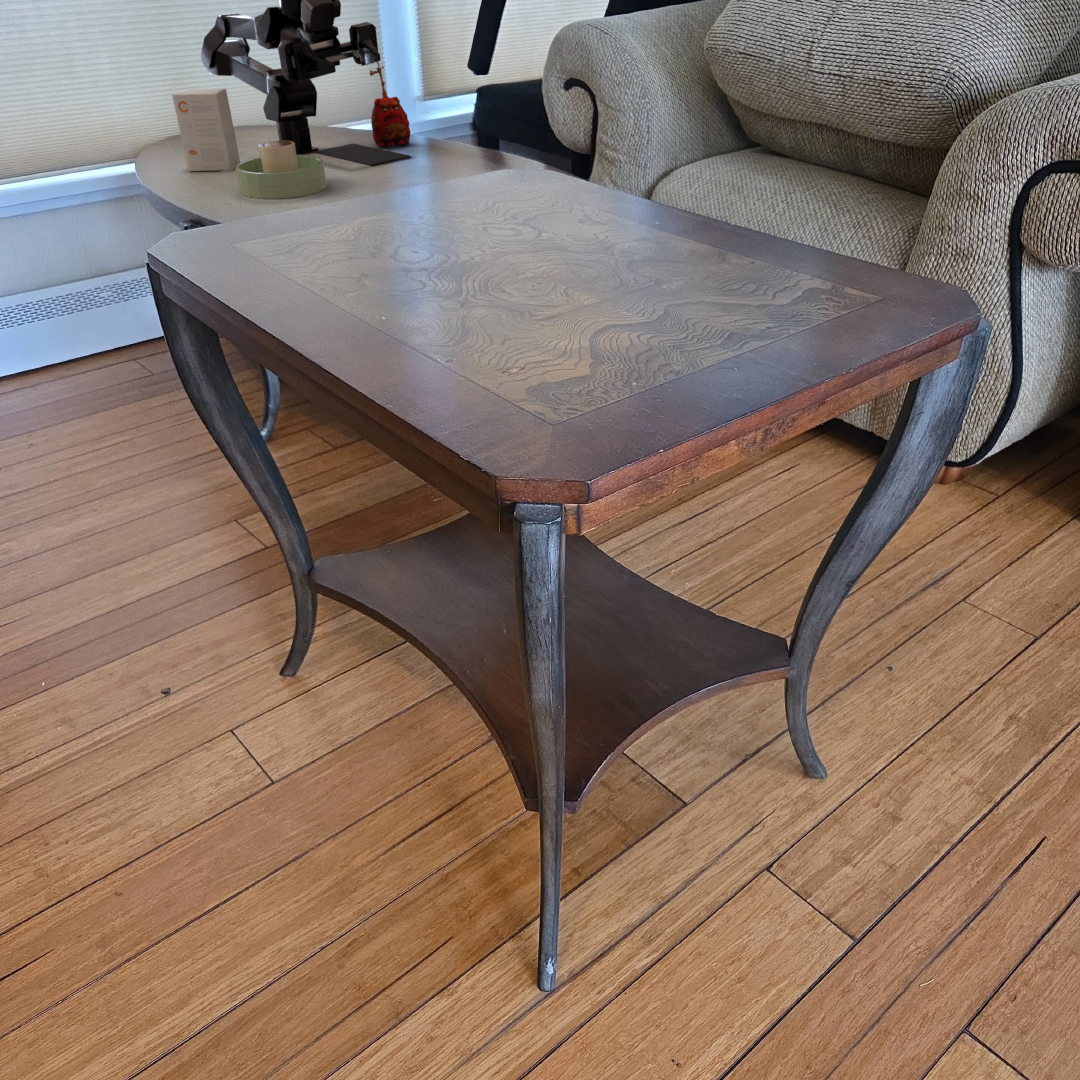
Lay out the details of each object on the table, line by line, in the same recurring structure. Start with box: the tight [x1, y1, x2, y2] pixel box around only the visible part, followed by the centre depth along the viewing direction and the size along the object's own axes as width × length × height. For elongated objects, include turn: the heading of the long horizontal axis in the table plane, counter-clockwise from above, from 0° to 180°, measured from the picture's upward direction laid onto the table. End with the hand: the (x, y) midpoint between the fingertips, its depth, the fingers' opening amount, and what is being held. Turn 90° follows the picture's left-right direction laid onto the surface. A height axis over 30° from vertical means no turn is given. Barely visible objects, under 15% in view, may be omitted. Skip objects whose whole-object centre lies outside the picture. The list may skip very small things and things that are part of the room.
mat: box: [298, 143, 412, 167], centre depth 180 cm, size 18×14×1 cm
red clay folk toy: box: [369, 61, 411, 149], centre depth 185 cm, size 8×7×15 cm
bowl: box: [235, 154, 328, 200], centre depth 157 cm, size 14×14×4 cm
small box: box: [171, 88, 241, 172], centre depth 171 cm, size 8×6×13 cm
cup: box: [258, 140, 299, 173], centre depth 156 cm, size 6×6×7 cm
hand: (357, 63), depth 160 cm, fingers open, 9 cm apart
